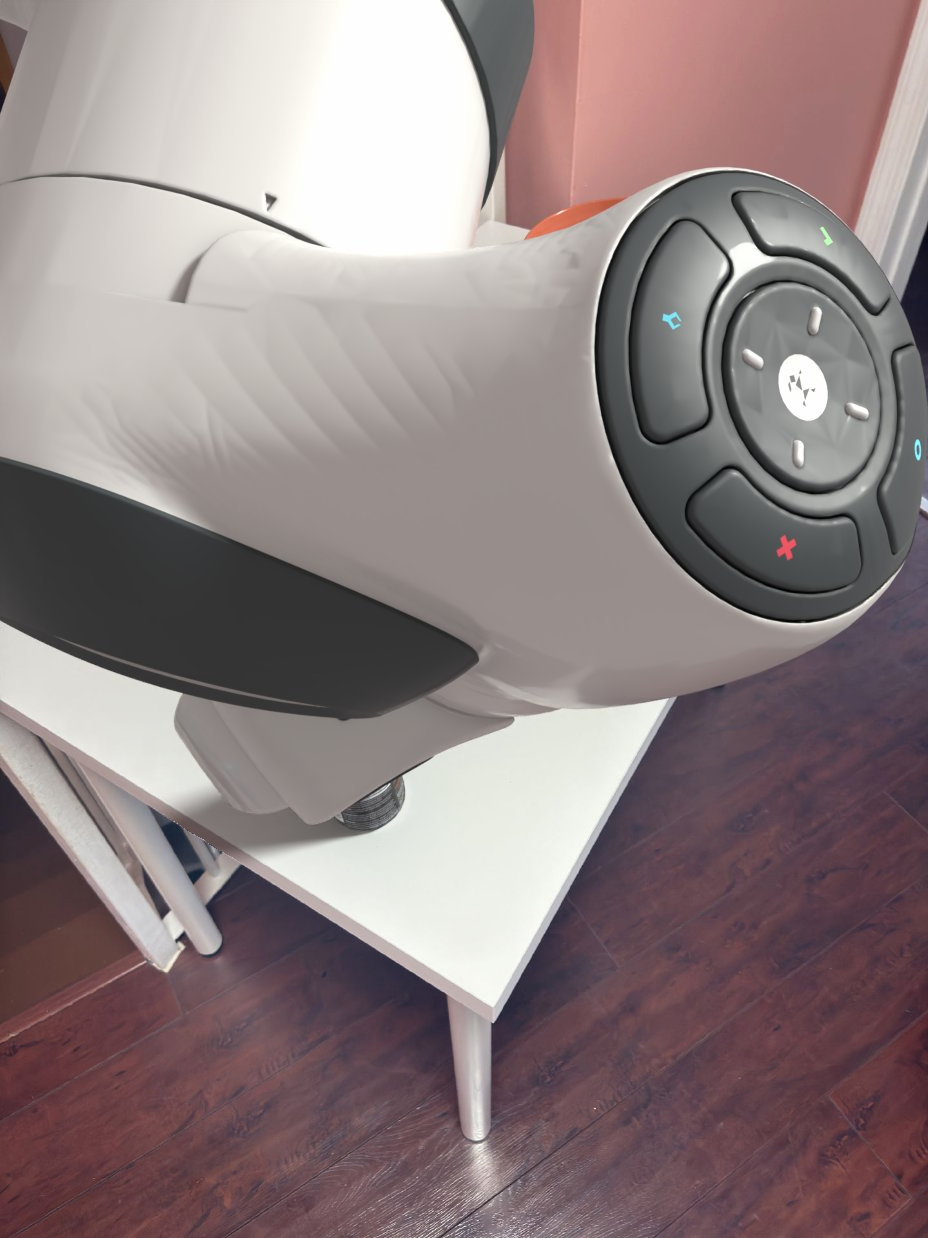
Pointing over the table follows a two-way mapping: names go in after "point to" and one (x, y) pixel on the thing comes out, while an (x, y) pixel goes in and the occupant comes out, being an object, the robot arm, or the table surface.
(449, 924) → the table surface
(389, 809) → the pill bottle
